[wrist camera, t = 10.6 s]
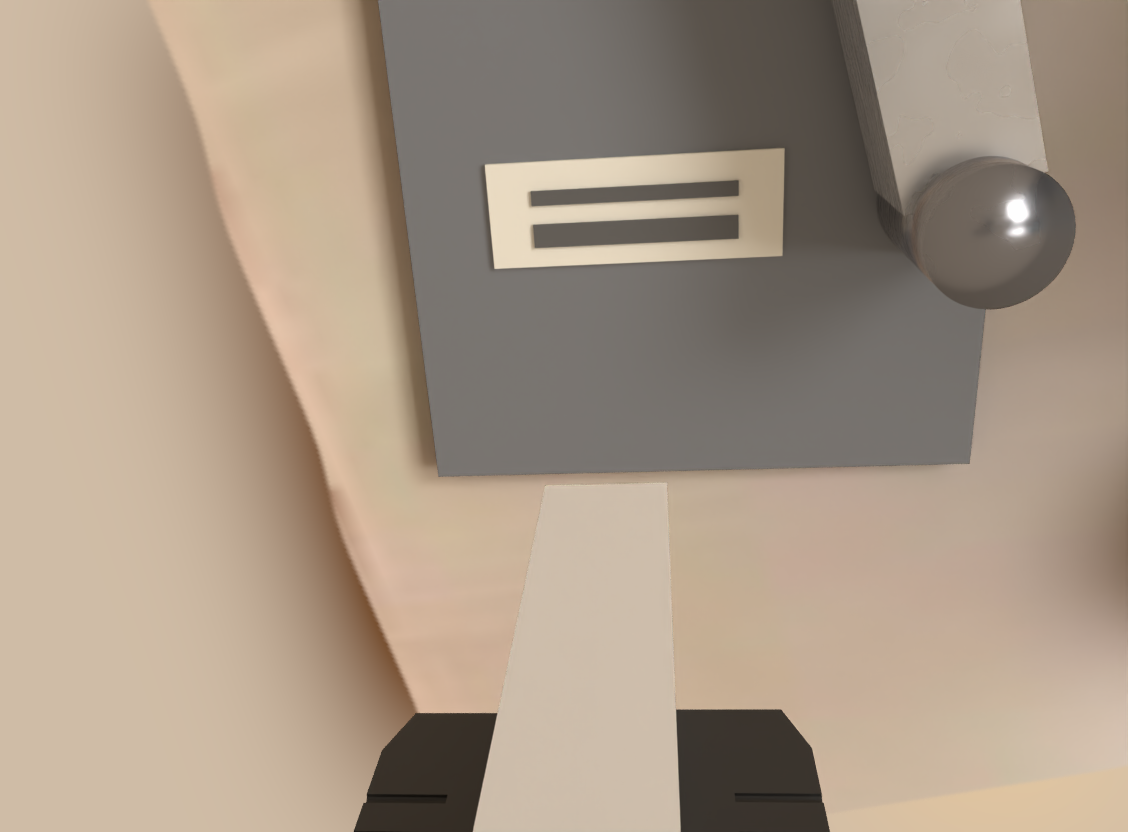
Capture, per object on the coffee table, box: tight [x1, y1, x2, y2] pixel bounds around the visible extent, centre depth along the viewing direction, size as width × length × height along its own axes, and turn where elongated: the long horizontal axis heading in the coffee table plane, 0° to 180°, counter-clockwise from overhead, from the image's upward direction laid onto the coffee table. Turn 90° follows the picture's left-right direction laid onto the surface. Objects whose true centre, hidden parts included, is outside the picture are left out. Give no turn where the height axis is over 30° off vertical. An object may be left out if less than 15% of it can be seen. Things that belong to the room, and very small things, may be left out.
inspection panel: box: [378, 0, 985, 477], centre depth 34 cm, size 20×20×1 cm
